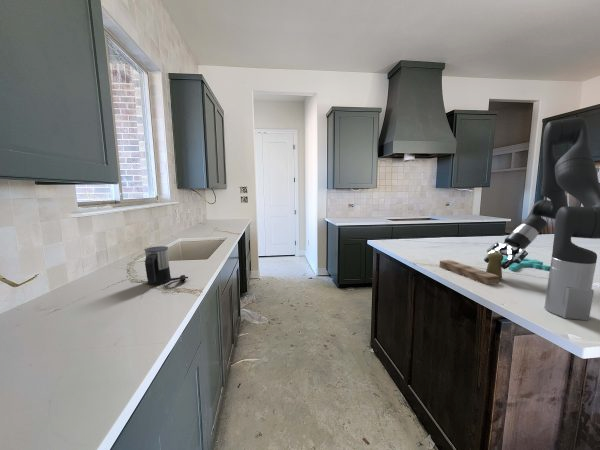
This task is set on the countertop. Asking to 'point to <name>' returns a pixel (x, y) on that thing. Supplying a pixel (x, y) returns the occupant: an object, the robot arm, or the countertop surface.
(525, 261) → the turquoise toy gun
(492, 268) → the cork
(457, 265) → the walnut plank
